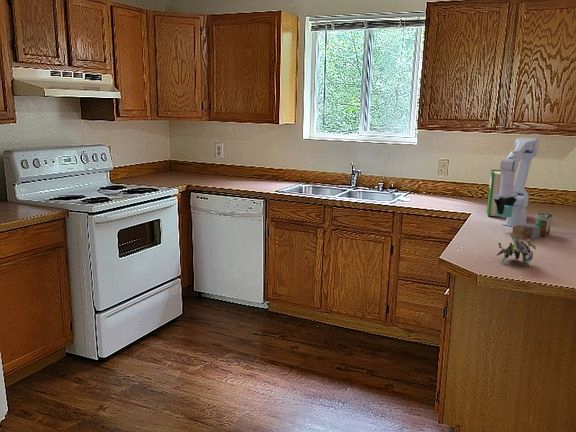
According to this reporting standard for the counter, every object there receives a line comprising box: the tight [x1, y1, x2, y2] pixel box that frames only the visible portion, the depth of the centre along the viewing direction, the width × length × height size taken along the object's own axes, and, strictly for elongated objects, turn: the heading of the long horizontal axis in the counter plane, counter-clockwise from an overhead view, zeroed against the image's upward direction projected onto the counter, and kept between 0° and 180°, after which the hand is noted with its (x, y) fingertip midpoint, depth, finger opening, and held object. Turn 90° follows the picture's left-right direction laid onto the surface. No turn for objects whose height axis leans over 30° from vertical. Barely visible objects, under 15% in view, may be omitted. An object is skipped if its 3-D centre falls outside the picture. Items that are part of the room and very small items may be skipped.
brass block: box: [511, 225, 530, 240], centre depth 230 cm, size 5×5×5 cm
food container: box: [534, 211, 553, 239], centre depth 236 cm, size 12×6×10 cm, turn 143°
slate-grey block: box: [524, 224, 541, 239], centre depth 233 cm, size 5×5×5 cm
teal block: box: [495, 205, 513, 219], centre depth 242 cm, size 5×5×5 cm
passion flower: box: [496, 233, 537, 268], centre depth 188 cm, size 13×12×14 cm
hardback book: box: [486, 169, 504, 219], centre depth 282 cm, size 18×7×24 cm, turn 161°
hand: (503, 213), depth 242 cm, fingers closed on teal block, 5 cm apart
